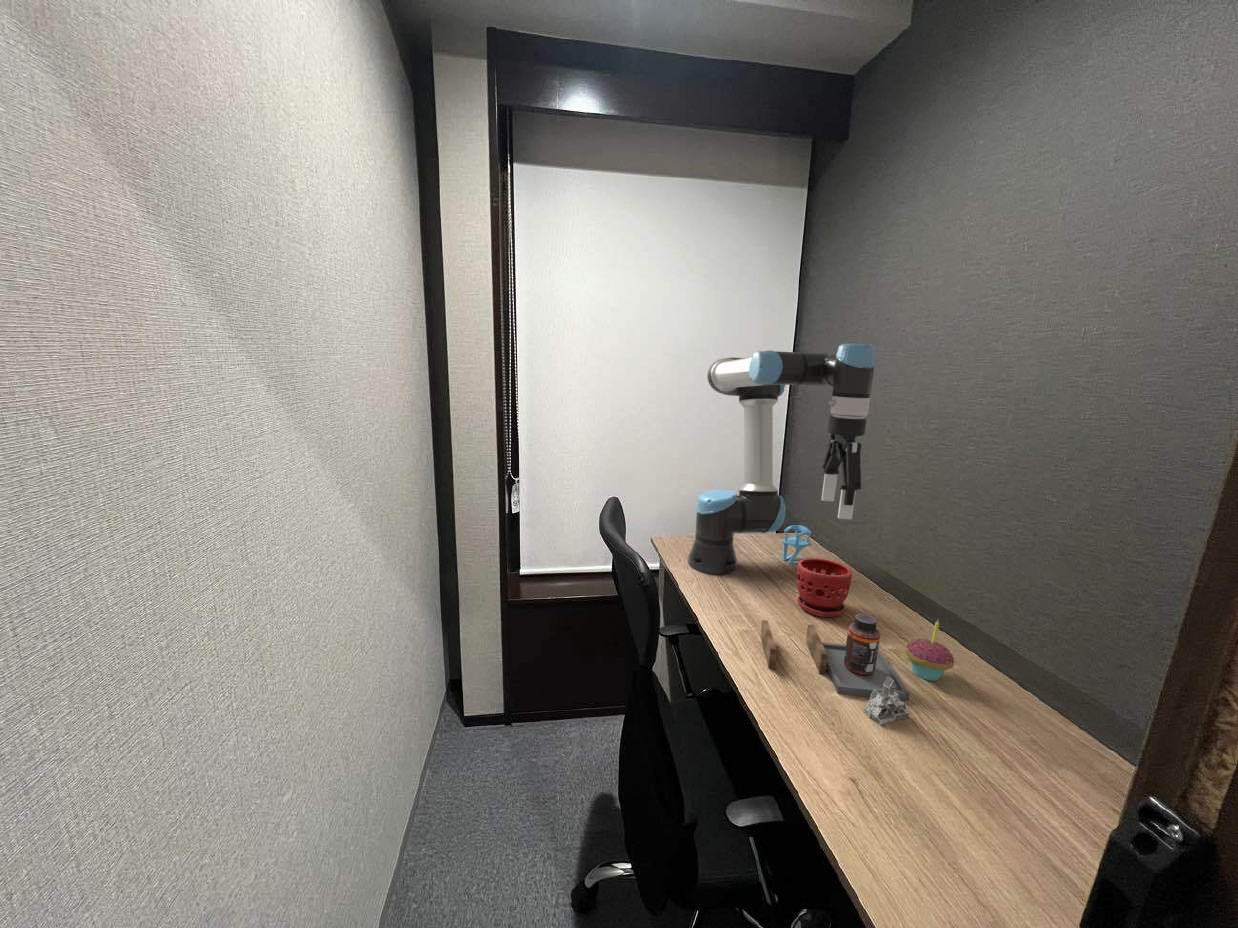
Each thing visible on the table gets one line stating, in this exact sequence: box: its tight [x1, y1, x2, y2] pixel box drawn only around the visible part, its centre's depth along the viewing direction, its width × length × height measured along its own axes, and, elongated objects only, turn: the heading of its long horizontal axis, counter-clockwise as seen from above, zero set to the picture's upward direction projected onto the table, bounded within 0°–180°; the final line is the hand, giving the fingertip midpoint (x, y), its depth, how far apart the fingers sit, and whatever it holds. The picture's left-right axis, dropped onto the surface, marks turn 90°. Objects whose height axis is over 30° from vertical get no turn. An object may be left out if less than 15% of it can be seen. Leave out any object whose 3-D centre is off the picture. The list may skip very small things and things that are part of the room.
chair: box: [781, 524, 812, 565], centre depth 162 cm, size 8×8×12 cm
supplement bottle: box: [844, 613, 881, 675], centre depth 103 cm, size 6×6×11 cm
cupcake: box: [905, 618, 955, 682], centre depth 103 cm, size 9×8×12 cm
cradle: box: [760, 620, 828, 675], centre depth 109 cm, size 12×11×4 cm
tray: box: [821, 641, 910, 702], centre depth 104 cm, size 16×13×2 cm
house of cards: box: [863, 676, 911, 726], centre depth 94 cm, size 9×9×8 cm
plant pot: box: [796, 557, 853, 618], centre depth 130 cm, size 13×13×12 cm
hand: (835, 509), depth 114 cm, fingers open, 13 cm apart
